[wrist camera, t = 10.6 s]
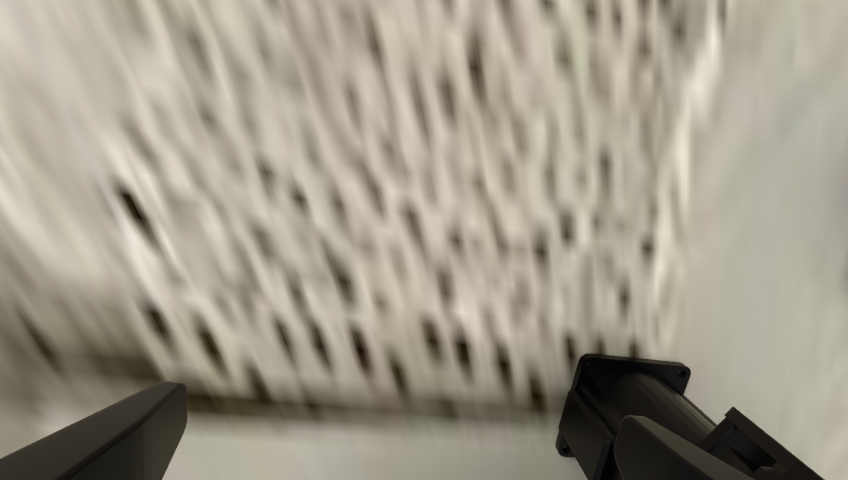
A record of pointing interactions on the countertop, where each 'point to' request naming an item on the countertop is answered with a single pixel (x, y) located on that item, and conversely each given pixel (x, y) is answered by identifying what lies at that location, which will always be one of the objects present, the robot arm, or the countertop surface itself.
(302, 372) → the countertop surface
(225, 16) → the countertop surface
